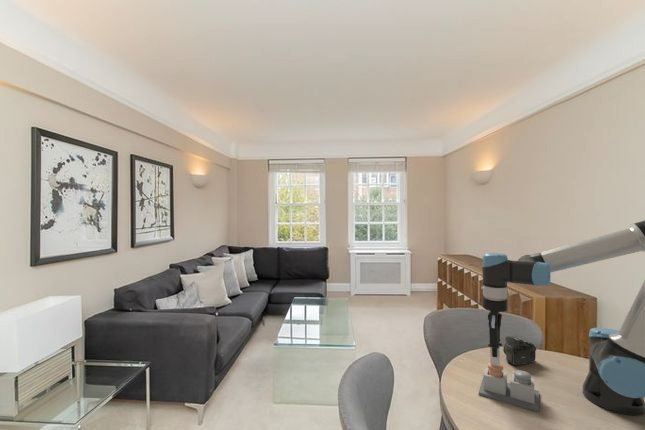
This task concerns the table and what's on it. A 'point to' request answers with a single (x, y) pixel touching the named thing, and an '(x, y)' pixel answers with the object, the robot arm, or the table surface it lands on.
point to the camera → (519, 351)
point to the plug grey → (522, 377)
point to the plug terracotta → (495, 370)
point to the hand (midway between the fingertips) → (495, 364)
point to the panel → (510, 391)
